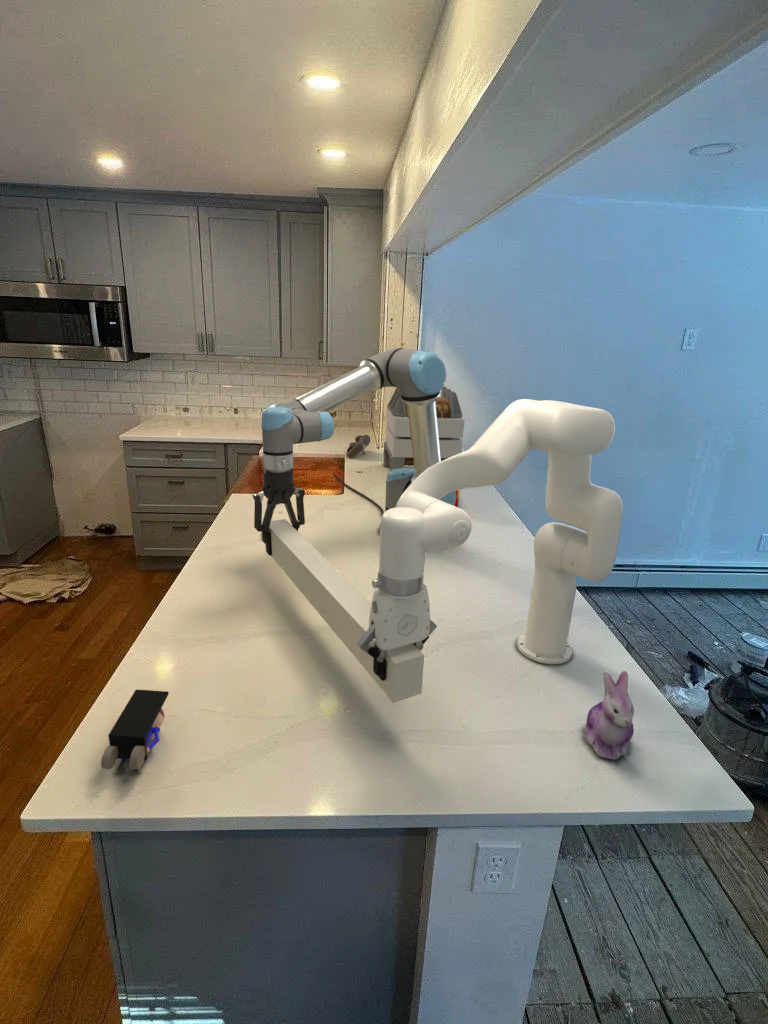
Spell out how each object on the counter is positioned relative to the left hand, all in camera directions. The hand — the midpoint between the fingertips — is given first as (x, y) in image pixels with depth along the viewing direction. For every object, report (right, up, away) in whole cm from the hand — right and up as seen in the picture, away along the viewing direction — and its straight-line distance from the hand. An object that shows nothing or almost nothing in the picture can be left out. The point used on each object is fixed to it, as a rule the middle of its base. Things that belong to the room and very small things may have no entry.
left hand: (280, 551), depth 153 cm
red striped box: (+52, +17, +87) cm, 103 cm away
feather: (-12, +6, +49) cm, 51 cm away
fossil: (+14, +42, +152) cm, 158 cm away
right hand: (+30, -18, -52) cm, 63 cm away
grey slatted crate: (+45, +29, +122) cm, 133 cm away
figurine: (+70, -33, -47) cm, 90 cm away
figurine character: (-15, -31, -54) cm, 64 cm away
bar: (+15, -11, -25) cm, 31 cm away
